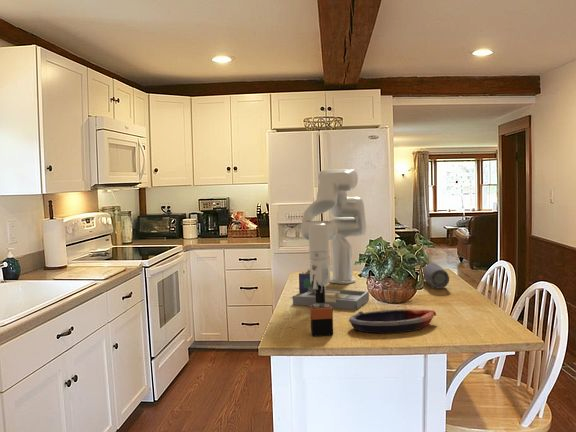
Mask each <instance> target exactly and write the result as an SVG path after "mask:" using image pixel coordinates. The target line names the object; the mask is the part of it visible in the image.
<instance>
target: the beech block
mask: <svg viewBox="0 0 576 432" xmlns="http://www.w3.org/2000/svg"><path fill="white" fill-rule="evenodd" d="M336 299H340V291H330V290H325V302H336Z"/></svg>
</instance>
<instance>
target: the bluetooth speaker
mask: <svg viewBox="0 0 576 432" xmlns="http://www.w3.org/2000/svg"><path fill="white" fill-rule="evenodd" d="M423 274H424V278H423V280H424V281H425V282H426V283H428V285H429V286H430V287H431V288H433V289H443V288H446V287H447V286H448V284H449V283H450V276H449V274H448V272H447V271H446V270H445V269H444V268H443V267H442V266H440V265H439V264H437V263H435V262H434V261H430V263H429V264H428V265H427V266H425V267H424V268H423Z"/></svg>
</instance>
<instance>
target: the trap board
mask: <svg viewBox="0 0 576 432" xmlns="http://www.w3.org/2000/svg"><path fill="white" fill-rule="evenodd" d="M325 290H330V291H340V299H336V302H324V303H316V293H315V290H313V288H311V287H308V291H307V292H306V293H304V294H300V295H292V305H297V306H307V307H311V306H313V304H319V305H320V306H322V305H324V304H329V305H330V306H331V307H332V309H342V310H343V309H344V310H352V311H353V310H355V311H357V310H359V309H360V308H361V307H362V306H363V305H365V304H366V303H367V302H369V300H370V292H369V291H365V290H354V289H353V290H352V289H339V288H338V289H337V288H336V289H335V288H325Z"/></svg>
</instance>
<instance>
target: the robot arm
mask: <svg viewBox="0 0 576 432" xmlns="http://www.w3.org/2000/svg"><path fill="white" fill-rule="evenodd" d="M358 176H359V175H358V173H357V171H356V170H355V169H353V168H347V169H340V168H339V169H322V170H321V171H319V173H318V187H317V192H316V199H315V200H314V201H313V202H311V203H310V204H309V206H308V207H306V209H305V211H304V212H303V214H302V218H301V219H302V220H301V224H300V225H301V226H300V234H301V237H302V239H305V240H306V241H308V249H309V250H308V253H309V254H308V255H309V260H310V268H309V269H310V283H311V285H312V286H313V290H315V293H316V303H324V302H325V289H326V285H328V284H330V283H332V284H338V285H345V284H346V285H347V284H352V283H355V282H356V278H355V277H353V257H352V255H353V254H352V244H351V242H350V241H349V240H348V238H349V237H350V238H351V237H363V236H364V235H366V232H367V224H366V223H367V222H366V213H365V204H364V201H363V199H362V198H361V197H359V196H348V194H347V192H349V191H353V190H354V189H355V188H356V187H357V185H358V182H359V181H358V179H359V177H358ZM329 211H330V214H331V216H332V217H333V218H331V219H330V220H313V219H314V218H316V217H317V216H319V215H321V214H323V213H326V212H329ZM330 240H331V261H332V262H331V265H332V269H331V266H330V250H329V249H330V247H329V245H330V244H329V241H330ZM331 270H332V277H331Z"/></svg>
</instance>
